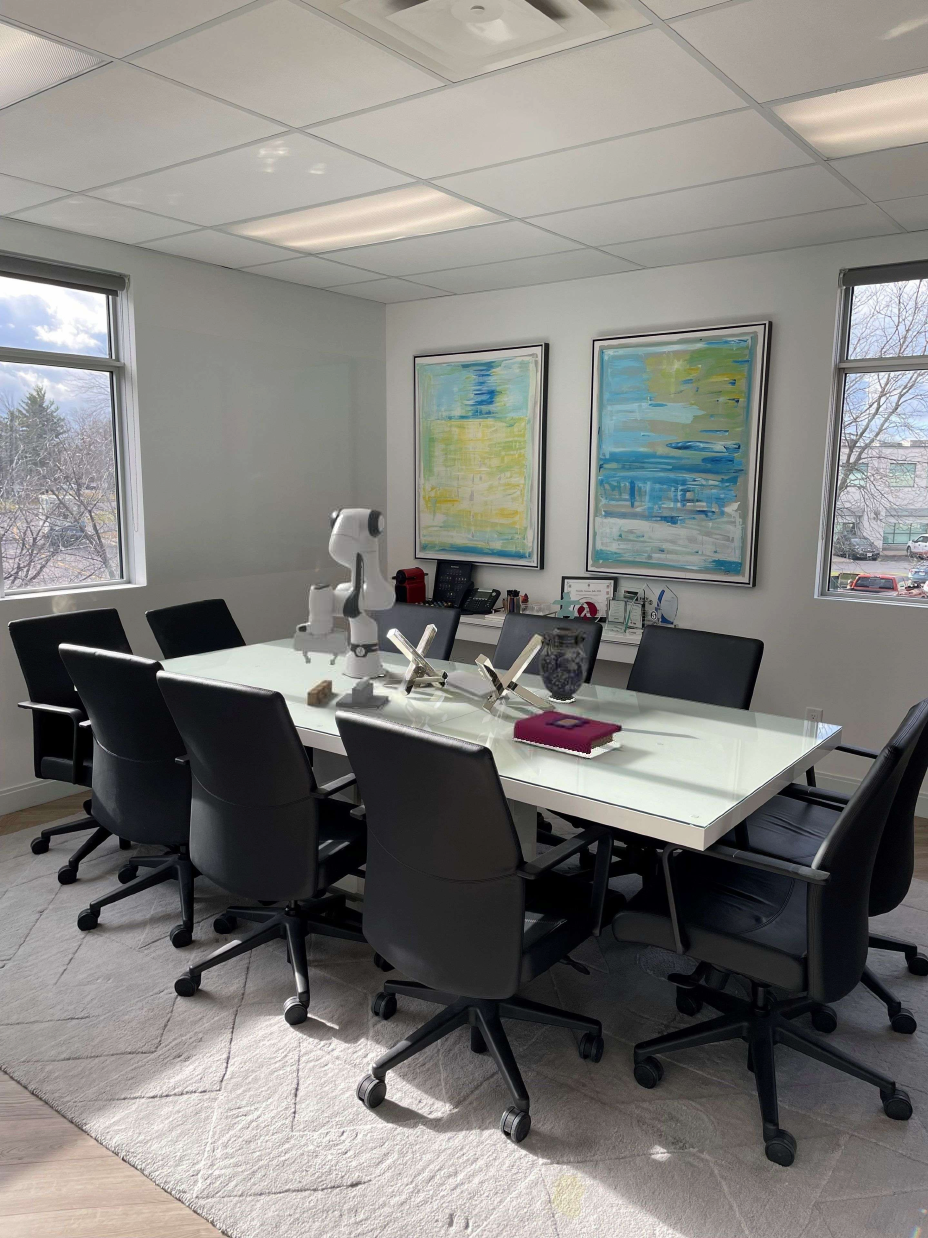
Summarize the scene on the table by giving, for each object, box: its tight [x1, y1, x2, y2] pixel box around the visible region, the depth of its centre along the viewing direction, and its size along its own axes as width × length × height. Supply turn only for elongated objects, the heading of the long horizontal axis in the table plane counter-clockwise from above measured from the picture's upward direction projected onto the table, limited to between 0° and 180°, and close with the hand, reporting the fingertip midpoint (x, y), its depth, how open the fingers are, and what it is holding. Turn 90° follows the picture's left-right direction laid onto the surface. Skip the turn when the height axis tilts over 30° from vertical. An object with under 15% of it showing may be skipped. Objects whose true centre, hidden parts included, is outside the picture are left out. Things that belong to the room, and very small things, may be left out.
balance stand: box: [335, 677, 390, 710], centre depth 329 cm, size 15×16×8 cm
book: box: [513, 710, 623, 754], centre depth 285 cm, size 21×28×8 cm
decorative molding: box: [445, 669, 494, 700], centre depth 359 cm, size 34×5×10 cm
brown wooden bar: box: [306, 679, 333, 707], centre depth 334 cm, size 22×3×5 cm, turn 173°
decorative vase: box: [538, 626, 589, 701], centre depth 343 cm, size 21×19×28 cm
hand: (320, 664), depth 333 cm, fingers open, 8 cm apart
